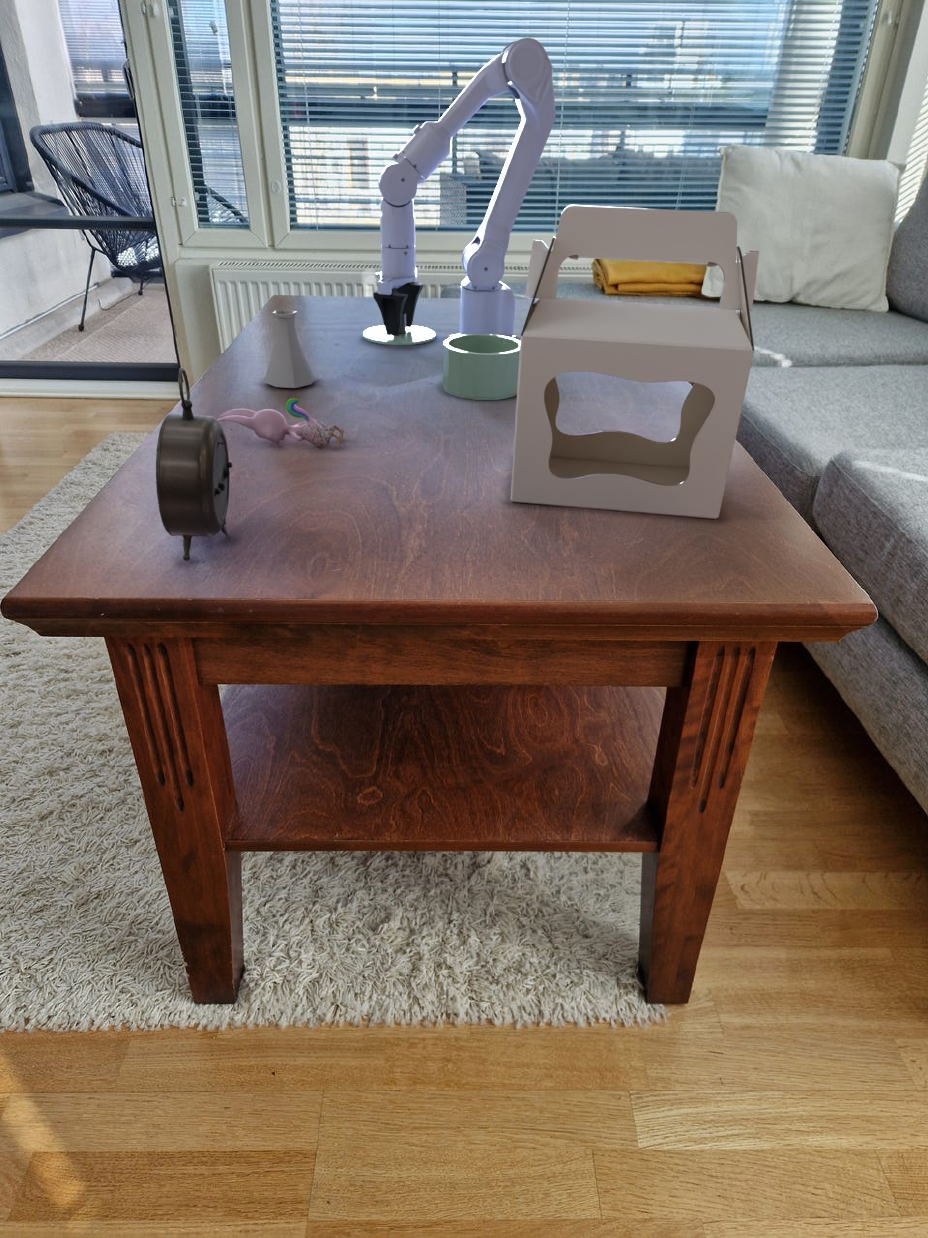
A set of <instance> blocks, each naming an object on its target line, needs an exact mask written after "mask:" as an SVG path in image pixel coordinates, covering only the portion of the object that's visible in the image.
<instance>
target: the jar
mask: <svg viewBox="0 0 928 1238" xmlns="http://www.w3.org/2000/svg"><path fill="white" fill-rule="evenodd" d="M453 336H454V337H450V336H449V337H448V338H446V339H444V340H443V343H442V390H443V391H444V392H445V393H447V394H449V395H451V396H454V397H457V398H461V399H467V400H473V401H474V400H475V401H498V400H504V399H506V400H507V399H510V398H513V397H517V387H518V371H519V355H520V340H519V339H517V338H515V337H513V338H510V337H506V336H500V335H492V334H466V335H458V336H455V335H453Z"/></svg>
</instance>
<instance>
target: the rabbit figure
mask: <svg viewBox="0 0 928 1238" xmlns="http://www.w3.org/2000/svg"><path fill="white" fill-rule="evenodd" d="M299 402H301V400H300V399H298V398H294V397H293V398H289V399H288V400H287V402H286V411H287V413H288V414H289V415H290V416H292V417H294V418H301V419H304V421H301V422H298V423H296V424H294V425H290V424H288V423H287V420H286V417H285V416H284V415H283V414H282V413H281V412H280V411H277V410H275V409H273V408H272V409H271V408H263V409H261V410H258V411H255V410H252V409H248V408H234V409H233V408H232V409H230V410H228V411H226V412H223V413H222V414H220V415H219V418H216V420H217V421H218V422H219V423H220V422H224V421H225V422H226V421H228V422H233V423H236V424H239V425H241V426H244V427H245V428H248V429H250V430H252V431H253V432H254V434H255V435H256V436H257V437H258V438H260V439H264V440H266V441H268V442H271V443H273V444H276V445H278V444H280V442H282V441H285V439H286V435H289V436H291V437H292V438H293V439H294V440H296V441H298V442H301V441H307V442H308V443H309V444H312V445H314V446H315V447H318V448H324V447H327V446H328V445H329V443H330V440H331V438H332V437H334V438H335V439H336V442H337V446H336V447H337V448H338V449H340V445H341V441H343V439H342V438H344V432H345V431H344V428H345V426H342V427H341V428H340V427H338V426H337V425H336V424H332V425H326V423H323V421H321V420H319V419H315V418H312V417H311V416H310V415H309V413H308V412H307V411H306V410H305V409H303V408H301V407H299V406H297V405H296V404H297V403H299ZM335 431H338V432H339V434H338V435H337V434H335V433H334V432H335Z"/></svg>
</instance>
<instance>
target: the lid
mask: <svg viewBox="0 0 928 1238" xmlns="http://www.w3.org/2000/svg"><path fill="white" fill-rule="evenodd" d="M362 337H363V339H365V340H367V341H368V342H372V343H375V344H380V345H388V346H415V345H421V344H426V343H430V342H432V341H434V340H435V339H436V332H435V331H434V330H433V329H430V328H428V327H424V326H419V325H412V326H411V327H406V313H405V312H402V320H401V329H400V334H399V336H392V335H387V334H386V330H385V326H384V324H383V325H376V326H372V327H368V328H367V329H365V330H363V332H362Z"/></svg>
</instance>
